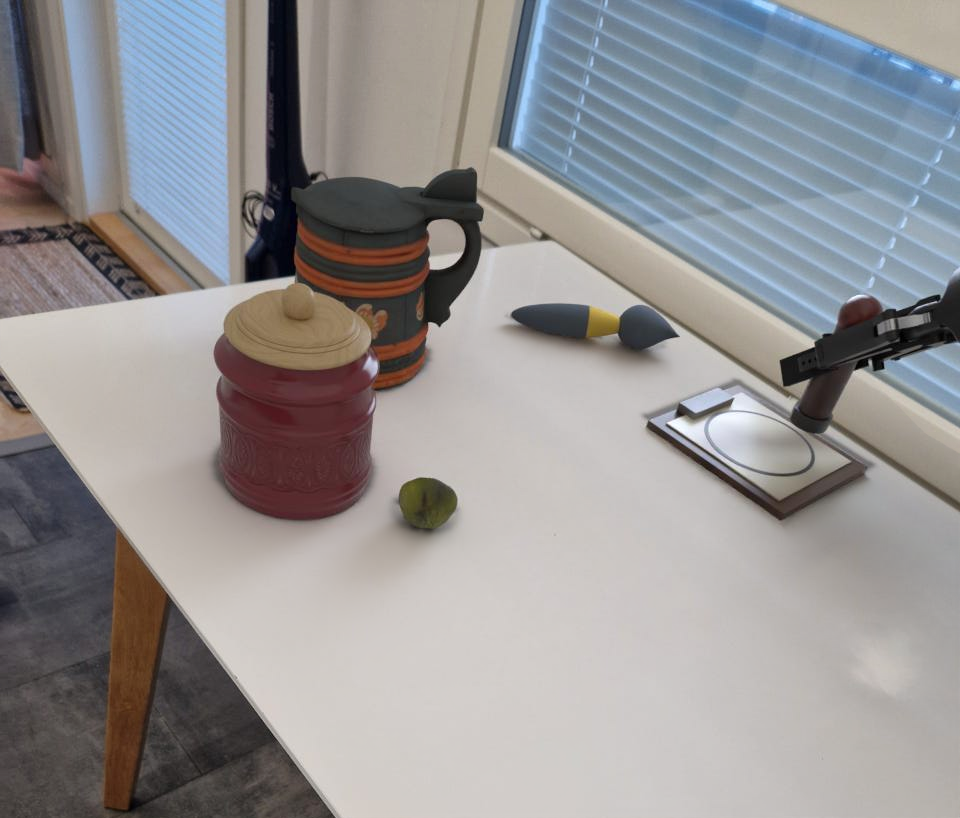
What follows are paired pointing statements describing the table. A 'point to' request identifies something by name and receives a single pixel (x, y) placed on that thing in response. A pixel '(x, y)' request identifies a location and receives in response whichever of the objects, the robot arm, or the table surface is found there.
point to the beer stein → (387, 257)
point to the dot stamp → (827, 388)
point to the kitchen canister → (295, 403)
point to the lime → (427, 502)
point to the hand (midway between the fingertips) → (799, 371)
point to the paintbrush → (598, 323)
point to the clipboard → (756, 449)
